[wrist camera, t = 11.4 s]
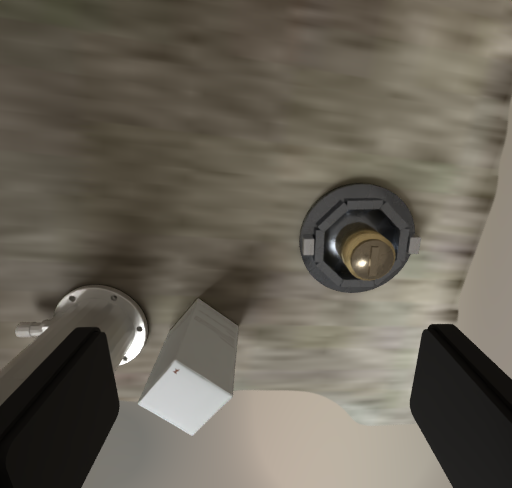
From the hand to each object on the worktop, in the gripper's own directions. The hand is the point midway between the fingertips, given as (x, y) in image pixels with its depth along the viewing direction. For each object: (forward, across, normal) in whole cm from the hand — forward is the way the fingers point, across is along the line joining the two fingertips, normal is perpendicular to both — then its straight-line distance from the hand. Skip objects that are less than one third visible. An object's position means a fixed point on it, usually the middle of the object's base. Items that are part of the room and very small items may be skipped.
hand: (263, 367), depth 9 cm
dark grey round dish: (+30, -12, +6) cm, 33 cm away
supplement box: (+31, +8, +19) cm, 37 cm away
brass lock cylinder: (+29, -12, +6) cm, 32 cm away
